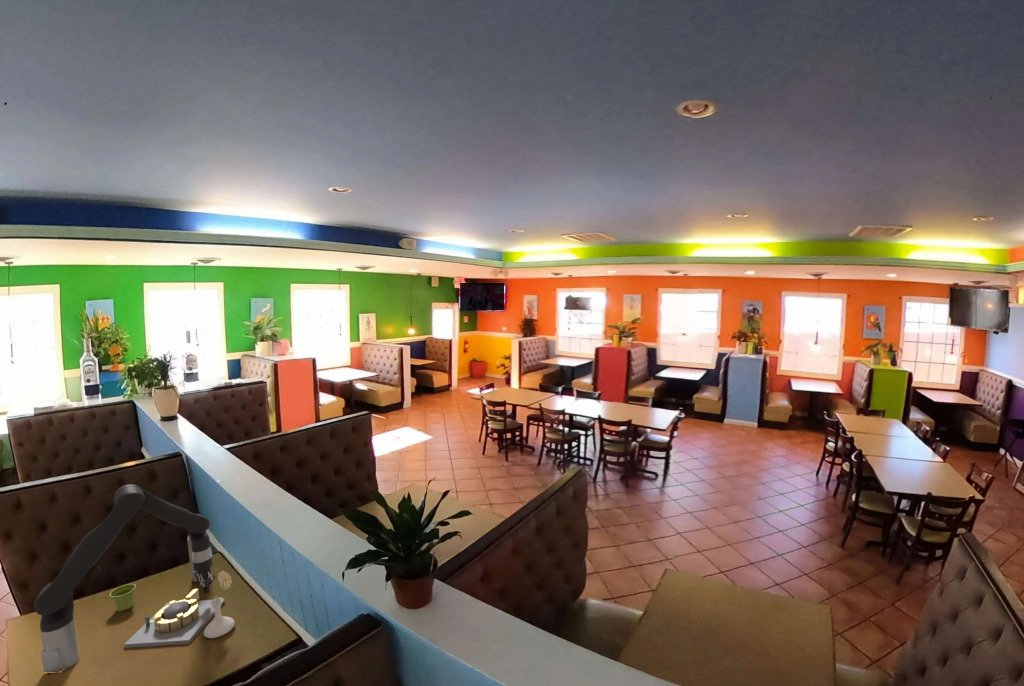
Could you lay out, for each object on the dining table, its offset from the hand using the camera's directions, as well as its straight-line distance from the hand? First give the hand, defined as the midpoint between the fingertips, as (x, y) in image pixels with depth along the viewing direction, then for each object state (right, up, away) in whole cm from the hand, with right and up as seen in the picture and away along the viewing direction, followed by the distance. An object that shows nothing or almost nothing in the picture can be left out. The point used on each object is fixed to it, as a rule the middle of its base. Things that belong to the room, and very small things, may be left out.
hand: (206, 592), depth 214 cm
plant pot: (-39, -8, +2) cm, 40 cm away
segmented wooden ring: (-6, -6, -8) cm, 11 cm away
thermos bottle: (-19, -5, +24) cm, 31 cm away
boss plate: (-6, -8, -10) cm, 14 cm away
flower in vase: (+17, -8, -15) cm, 24 cm away
